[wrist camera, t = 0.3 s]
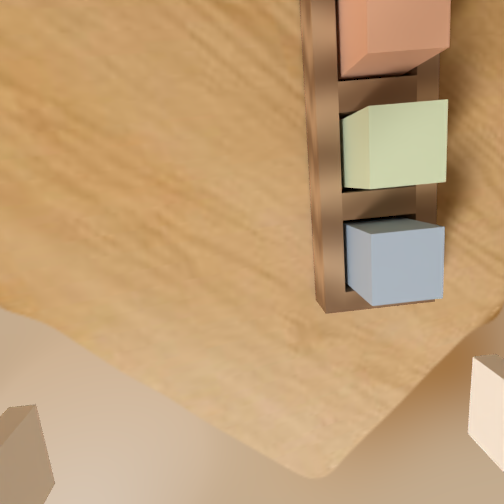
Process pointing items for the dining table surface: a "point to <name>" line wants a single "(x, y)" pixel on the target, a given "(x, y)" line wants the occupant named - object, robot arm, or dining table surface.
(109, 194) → the dining table surface
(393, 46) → the salmon pink cube
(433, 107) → the pastel lime cube
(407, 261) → the pale blue-grey cube
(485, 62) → the dining table surface
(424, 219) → the wooden cube holder tray
